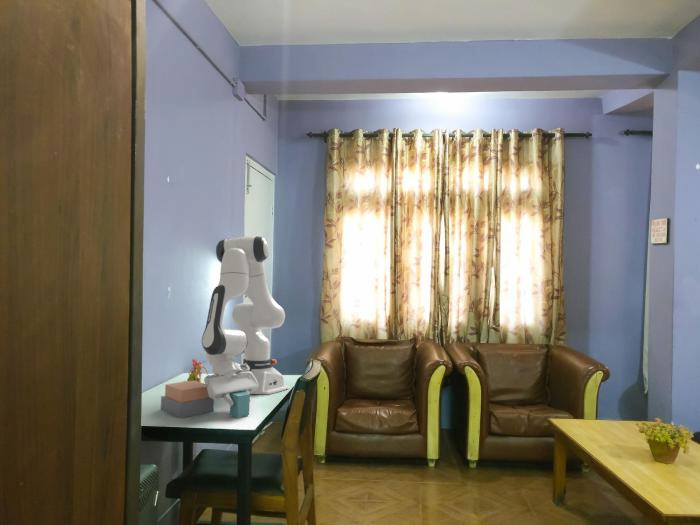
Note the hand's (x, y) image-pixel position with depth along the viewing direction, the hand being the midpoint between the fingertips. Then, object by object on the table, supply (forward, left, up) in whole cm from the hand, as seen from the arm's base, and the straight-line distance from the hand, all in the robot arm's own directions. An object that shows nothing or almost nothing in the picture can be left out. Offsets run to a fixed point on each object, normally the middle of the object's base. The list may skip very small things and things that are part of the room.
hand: (240, 403), depth 193 cm
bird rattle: (-16, -61, -5) cm, 63 cm away
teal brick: (0, -1, -4) cm, 4 cm away
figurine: (-8, -44, -5) cm, 45 cm away
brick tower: (+11, -19, -4) cm, 22 cm away
